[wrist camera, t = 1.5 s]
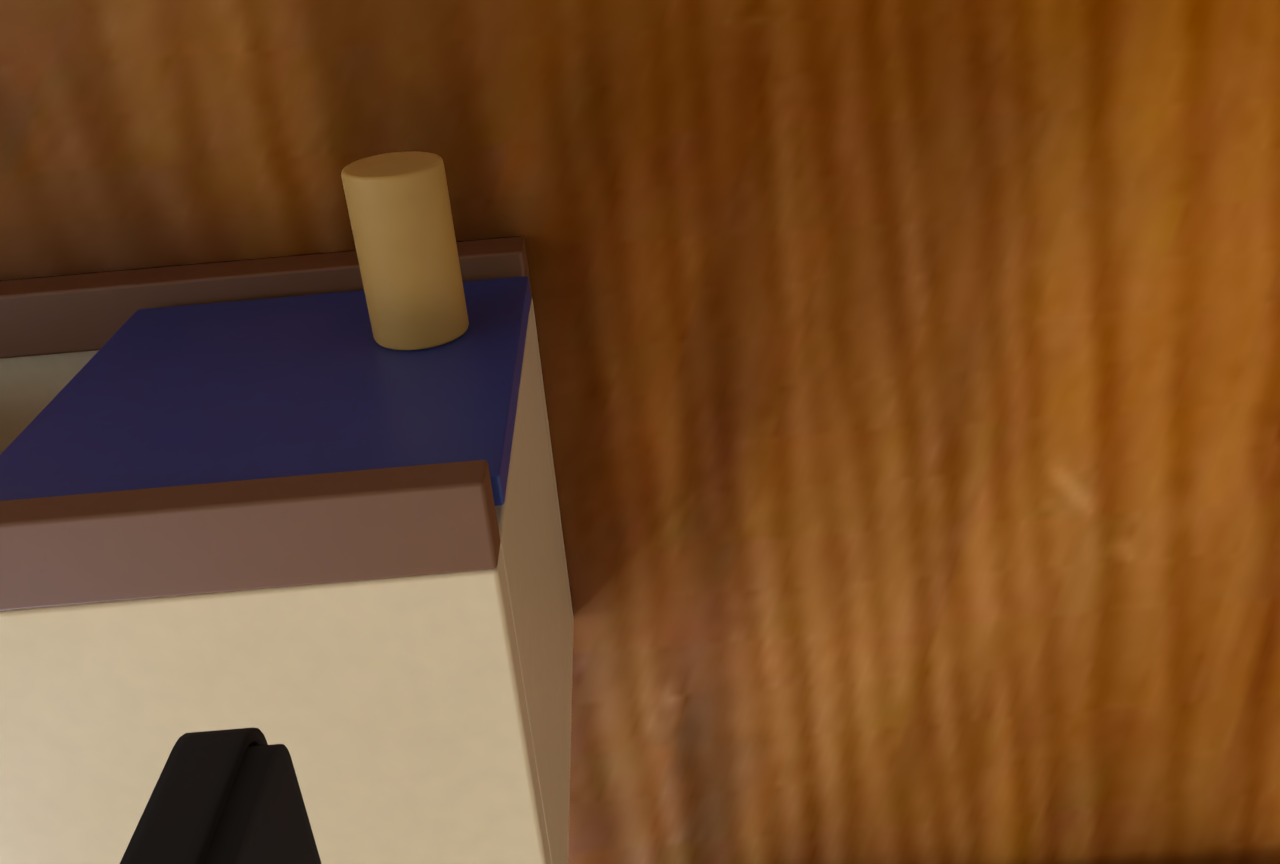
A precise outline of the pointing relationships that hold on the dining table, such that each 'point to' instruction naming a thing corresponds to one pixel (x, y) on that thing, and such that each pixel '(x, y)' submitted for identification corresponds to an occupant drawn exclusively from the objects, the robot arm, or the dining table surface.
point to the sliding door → (301, 368)
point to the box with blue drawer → (284, 614)
